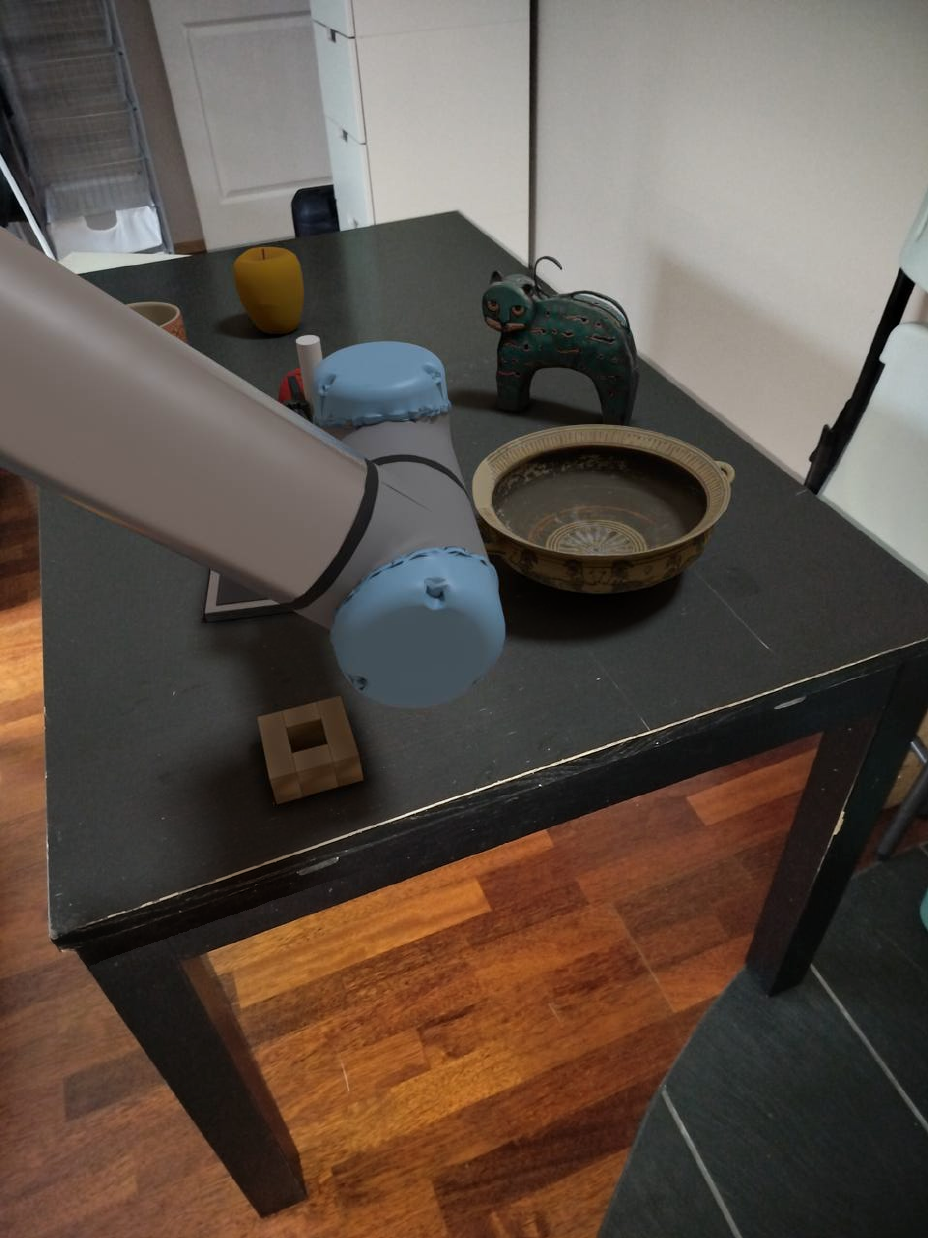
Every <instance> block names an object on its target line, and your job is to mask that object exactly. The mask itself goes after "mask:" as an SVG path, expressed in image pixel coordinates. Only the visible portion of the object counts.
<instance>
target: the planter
mask: <svg viewBox="0 0 928 1238" xmlns="http://www.w3.org/2000/svg"><path fill="white" fill-rule="evenodd" d="M125 305H126V306H127V307H129V308H131V309H132V310H134V311H135V312H137V313H139V314H140V315H142V316H143V317H145V318H146V319H148V320H150V321H151V322H153V323H154V324H156V325H157V326H159V327H161V328H162V329H164V330H165V331H167V332H169V333H170V334H172V335H173V336H175V337H176V338H178V339H180V340H181V341H183V342H184V343H186V344H188V345H189V342H188V337H187V332H186V326H185V321H184V318H183V315H182V312H181V311H180V308H179V307H177V306H176V305H174V304H172V303H167V302H161V301H141V302H132V303H126V304H125Z"/></svg>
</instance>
